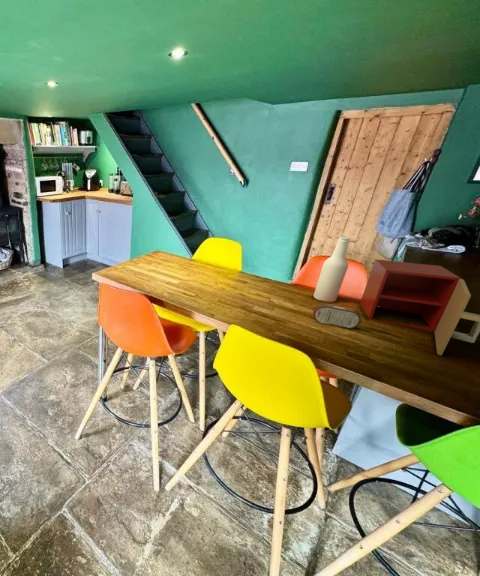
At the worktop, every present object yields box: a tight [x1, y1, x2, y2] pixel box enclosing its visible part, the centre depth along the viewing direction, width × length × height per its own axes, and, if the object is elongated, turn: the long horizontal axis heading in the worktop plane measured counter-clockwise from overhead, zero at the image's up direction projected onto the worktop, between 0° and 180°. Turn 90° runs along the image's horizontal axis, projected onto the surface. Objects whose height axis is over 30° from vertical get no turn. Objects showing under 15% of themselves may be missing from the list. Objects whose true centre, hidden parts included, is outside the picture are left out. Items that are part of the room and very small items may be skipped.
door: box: [433, 278, 480, 356], centre depth 101 cm, size 6×20×22 cm, turn 136°
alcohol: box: [313, 236, 351, 303], centre depth 137 cm, size 9×9×30 cm
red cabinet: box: [359, 259, 461, 333], centre depth 121 cm, size 16×20×22 cm
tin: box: [312, 302, 362, 329], centre depth 118 cm, size 15×3×8 cm, turn 59°
